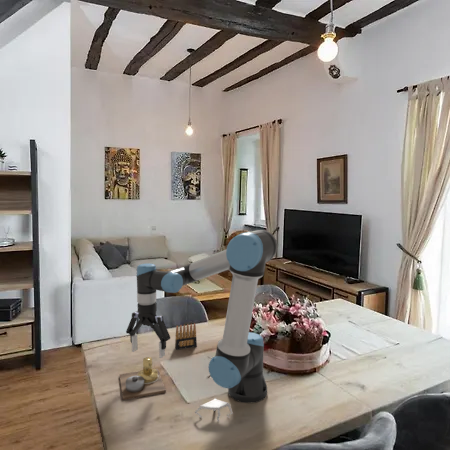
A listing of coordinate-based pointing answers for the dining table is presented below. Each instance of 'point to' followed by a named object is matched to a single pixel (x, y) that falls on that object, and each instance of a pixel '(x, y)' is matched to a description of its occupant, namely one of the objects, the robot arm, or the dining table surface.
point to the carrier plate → (146, 389)
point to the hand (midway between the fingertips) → (148, 353)
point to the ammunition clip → (185, 337)
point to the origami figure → (215, 407)
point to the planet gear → (148, 371)
